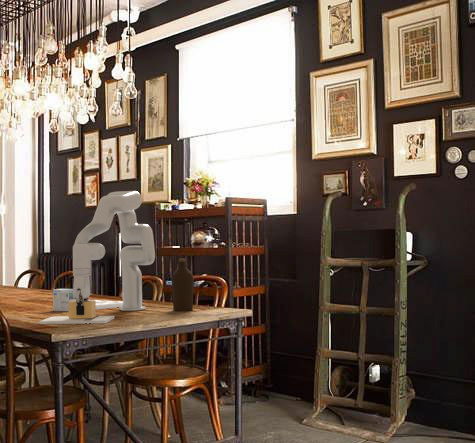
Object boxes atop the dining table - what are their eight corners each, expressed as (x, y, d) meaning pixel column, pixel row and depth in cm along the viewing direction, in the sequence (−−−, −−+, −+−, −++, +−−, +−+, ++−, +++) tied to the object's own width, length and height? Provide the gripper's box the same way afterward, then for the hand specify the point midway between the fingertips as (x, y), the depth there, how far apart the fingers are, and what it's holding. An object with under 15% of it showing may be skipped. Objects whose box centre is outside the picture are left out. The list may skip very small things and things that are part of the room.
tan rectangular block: (73, 316, 280) (72, 300, 280) (95, 316, 279) (95, 300, 279) (68, 318, 274) (68, 301, 274) (91, 318, 273) (91, 301, 273)
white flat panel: (52, 319, 285) (52, 316, 285) (114, 318, 284) (114, 315, 284) (39, 324, 269) (39, 320, 269) (105, 323, 268) (105, 320, 268)
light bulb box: (78, 310, 321) (78, 288, 321) (69, 311, 315) (69, 289, 315) (61, 309, 326) (61, 288, 326) (52, 311, 319) (52, 289, 320)
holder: (58, 304, 357) (58, 299, 357) (88, 302, 368) (88, 297, 368) (96, 310, 322) (96, 305, 322) (127, 307, 333) (127, 302, 333)
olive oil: (182, 311, 304) (182, 259, 305) (167, 310, 311) (166, 259, 312) (198, 309, 312) (197, 258, 313) (183, 308, 319) (182, 258, 320)
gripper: (79, 271, 286) (79, 311, 285) (67, 273, 269) (67, 316, 268) (96, 271, 285) (96, 311, 285) (84, 273, 268) (85, 316, 268)
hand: (82, 313), depth 277 cm, fingers closed on tan rectangular block, 6 cm apart
